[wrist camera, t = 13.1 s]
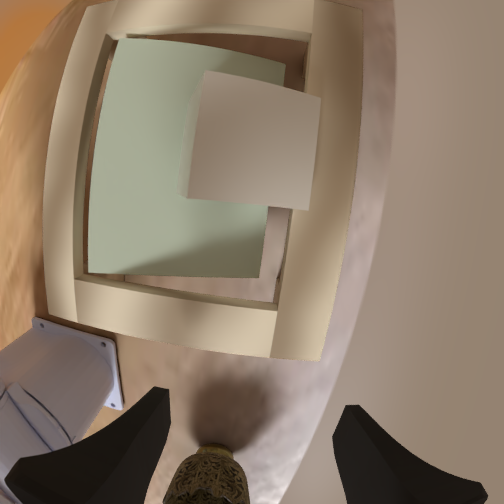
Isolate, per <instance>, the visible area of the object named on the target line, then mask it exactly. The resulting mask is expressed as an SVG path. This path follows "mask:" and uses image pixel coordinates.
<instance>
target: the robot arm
mask: <svg viewBox="0 0 504 504" xmlns="http://www.w3.org/2000/svg"><path fill="white" fill-rule="evenodd" d="M32 326H33V328H31V329H30V330H28V331H27V332H26V333H24V334H23V335H22V336H20V337H19V338H17V339H16V340H15V341H13V342H12V343H11V344H9V345H8V346H7V347H5V348H4V349H3V350H1V351H0V504H144V501H145V497H146V493H147V489H148V486H149V483H150V481H151V478H152V476H153V473H154V471H155V468H156V466H157V463H158V461H159V458H160V456H161V454H162V451H163V449H164V446H165V444H166V440H167V436H168V433H169V428H170V424H171V417H170V398H169V389H164V388H160V387H153V388H152V389H151V390H150V391H149V392H148V393H147V394H146V395H144V396H143V397H142V398H141V399H140V400H139V401H138V402H137V403H136V404H135V405H133V406H132V407H131V408H130V409H129V410H127V411H126V412H125V413H124V414H123V415H121V416H120V417H119V418H117V419H116V420H115V421H113V422H112V423H110V424H109V425H108V426H106V427H105V428H103V429H101V430H100V431H98V432H96V433H95V434H93V435H91V436H89V437H87V438H85V439H83V440H82V438H83V437H84V435H85V433H86V432H87V430H88V429H89V427H90V426H91V424H92V422H93V421H94V419H95V418H96V416H97V415H98V413H99V411H100V410H101V408H102V407H103V405H104V406H107V407H110V408H114V409H117V410H122V409H123V408H124V404H123V398H122V392H121V386H120V379H119V372H118V364H117V356H116V347H115V343H114V341H112V340H111V339H108V338H104V337H100V336H97V335H93V334H89V333H86V332H82V331H79V330H75V329H72V328H69V327H65V326H62V325H59V324H56V323H53V322H50V321H47V320H44V319H41V318H38V317H34V318H32ZM103 342H104V343H105V344H106V345H104V344H103ZM114 404H115V405H114ZM332 439H333V448H334V454H335V459H336V463H337V467H338V470H339V474H340V477H341V481H342V484H343V488H344V492H345V495H346V500H347V504H484V503H485V501H486V500H487V498H488V494H487V493H486V491H485V489H484V488H483V486H482V484H481V483H480V482H475V481H471V480H467V479H463V478H460V477H457V476H454V475H452V474H449V473H447V472H444V471H442V470H440V469H438V468H436V467H434V466H432V465H430V464H428V463H426V462H424V461H423V460H421V459H420V458H418V457H417V456H415V455H414V454H412V453H411V452H409V451H408V450H407V449H406V448H404V447H403V446H402V445H401V444H399V443H398V442H397V441H396V440H395V439H393V438H392V437H391V436H390V435H389V434H388V433H387V432H386V431H385V430H384V429H383V428H382V427H380V426H379V425H378V423H377V422H376V421H375V420H374V419H372V417H371V416H370V415H369V414H368V413H367V412H366V411H365V410H364V409H363V408H362V407H361V406H360V405H346V406H345V408H344V411H343V413H342V416H341V418H340V420H339V423H338V425H337V427H336V429H335V432H334V434H333V436H332Z"/></svg>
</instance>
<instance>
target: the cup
mask: <svg viewBox="0 0 504 504" xmlns="http://www.w3.org/2000/svg"><path fill="white" fill-rule="evenodd" d="M163 504H250V498H249V491H248V484H247V479H246V475H245V473H244V471H243V469H242V467H241V466H240V465H239V464H238V463H237V462H236V461H235V460H233V455H232V453H231V451H230V450H229V449H228V448H227V447H225V446H223V445H220V444H214V443H210V444H205V445H203V446H201V447H200V448H199V449H198V450H197V452H196V454H194V455H191V456H189V457H188V458H186V459H185V460H184V461H183V462H182V463H181V464H180V466H179V467H178V469H177V471H176V473H175V475H174V477H173V479H172V481H171V483H170V485H169V488H168V490H167V492H166V495H165V497H164V499H163Z"/></svg>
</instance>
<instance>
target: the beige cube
mask: <svg viewBox="0 0 504 504" xmlns="http://www.w3.org/2000/svg"><path fill="white" fill-rule="evenodd" d="M320 105H321V98H319V97H316V96H313V95H310V94H307V93H303V92H300V91H297V90H293V89H290V88H286V87H282V86H279V85H275V84H271V83H267V82H263V81H259V80H254V79H250V78H245V77H240V76H236V75H230V74H225V73H220V72H214V71H208V70H205V72H204V74H203V76H202V77H201V79H200V81H199V83H198V85H197V87H196V89H195V91H194V93H193V95H192V97H191V98H190V100H189V102H188V108H187V115H186V121H185V127H184V134H183V141H182V149H181V156H180V164H179V173H178V182H177V191H176V193H177V194H179V195H181V196H183V197H185V198H187V199H200V200H212V201H223V202H234V203H244V204H254V205H263V206H273V207H281V208H290V209H298V210H306V211H309V203H310V196H311V188H312V180H313V172H314V163H315V155H316V146H317V136H318V126H319V116H320Z"/></svg>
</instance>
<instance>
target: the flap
mask: <svg viewBox="0 0 504 504" xmlns="http://www.w3.org/2000/svg"><path fill="white" fill-rule="evenodd" d="M285 67H286V64H283V63H280V62H277V61H273V60H269V59H266V58H262V57H258V56H254V55H250V54H245V53H241V52H236V51H232V50H227V49H221V48H216V47H210V46H204V45H198V44H191V43H183V42H175V41H165V40H153V39H136V38H119V41H118V44H117V48H116V51H115V54H114V58H113V61H112V65H111V69H110V73H109V77H108V81H107V84H106V88H105V92H104V97H103V102H102V106H101V112H100V117H99V122H98V128H97V134H96V141H95V148H94V155H93V164H92V173H91V183H90V196H89V214H88V273H107V274H129V275H154V276H184V277H225V278H259V274H260V266H261V259H262V251H263V244H264V236H265V229H266V221H267V213H268V206H263V205H254V204H244V203H234V202H223V201H212V200H200V199H187V198H185V197H183V196H181V195H179V194H177V193H176V191H177V182H178V173H179V164H180V156H181V149H182V141H183V134H184V127H185V121H186V115H187V108H188V102H189V100H190V98H191V97H192V95H193V93H194V91H195V89H196V87H197V85H198V83H199V81H200V79H201V77H202V76H203V74H204V72H205V70H208V71H214V72H220V73H225V74H230V75H236V76H240V77H245V78H250V79H254V80H259V81H263V82H267V83H271V84H275V85H279V86H282V87H283V84H284V75H285Z"/></svg>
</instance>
